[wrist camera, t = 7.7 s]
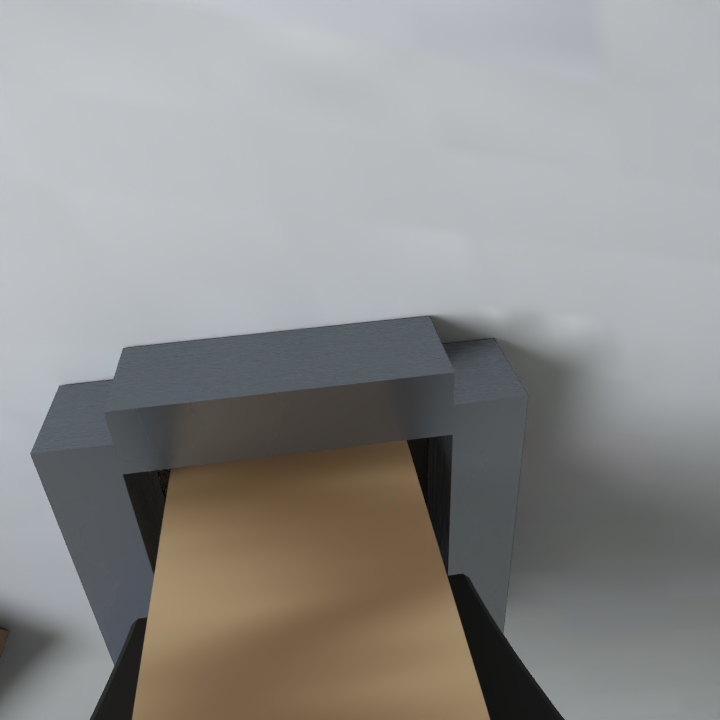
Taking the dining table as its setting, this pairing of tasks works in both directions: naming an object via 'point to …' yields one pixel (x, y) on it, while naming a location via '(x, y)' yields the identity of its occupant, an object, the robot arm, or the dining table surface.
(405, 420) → the socket block
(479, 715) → the oak peg
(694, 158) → the dining table surface
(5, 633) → the stand collar
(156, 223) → the dining table surface
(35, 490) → the dining table surface
